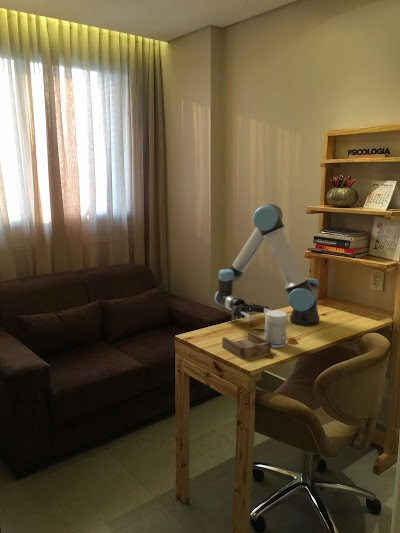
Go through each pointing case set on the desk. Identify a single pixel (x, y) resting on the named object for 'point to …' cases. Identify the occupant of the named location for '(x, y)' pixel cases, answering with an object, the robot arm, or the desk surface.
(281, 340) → the supplement tub
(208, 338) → the desk surface
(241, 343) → the tray
